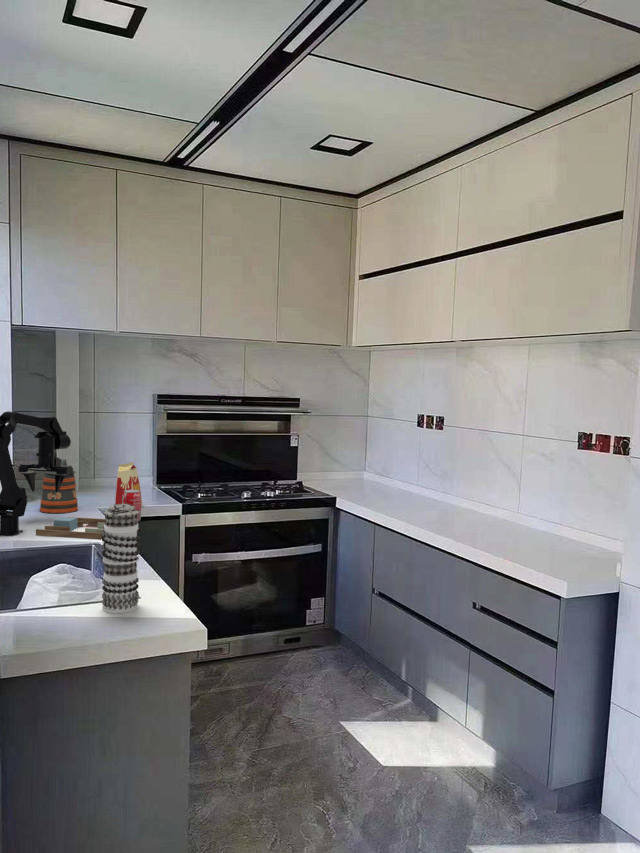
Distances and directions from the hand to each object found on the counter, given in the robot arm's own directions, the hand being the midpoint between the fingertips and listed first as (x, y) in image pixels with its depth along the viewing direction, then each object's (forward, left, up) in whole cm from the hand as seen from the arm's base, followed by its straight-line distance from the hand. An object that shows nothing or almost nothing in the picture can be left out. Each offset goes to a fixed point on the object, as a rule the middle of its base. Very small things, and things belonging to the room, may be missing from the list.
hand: (45, 492), depth 256 cm
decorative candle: (-83, -65, -12) cm, 106 cm away
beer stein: (+27, +8, -12) cm, 31 cm away
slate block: (-7, -12, -12) cm, 18 cm away
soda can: (+12, -29, -12) cm, 33 cm away
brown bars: (-7, -20, -12) cm, 24 cm away
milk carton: (+37, -17, -12) cm, 43 cm away
